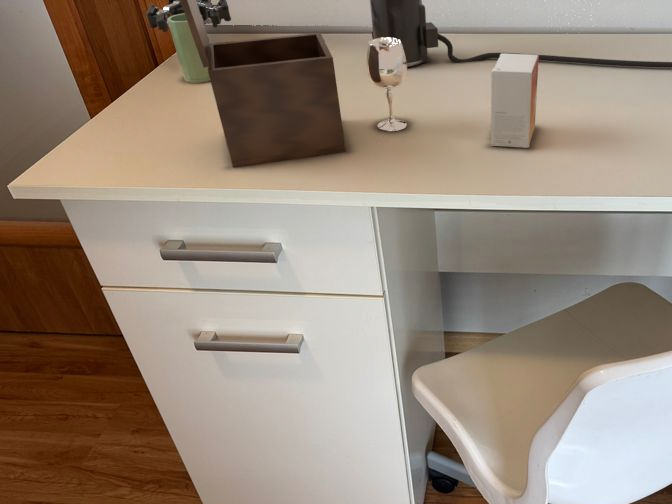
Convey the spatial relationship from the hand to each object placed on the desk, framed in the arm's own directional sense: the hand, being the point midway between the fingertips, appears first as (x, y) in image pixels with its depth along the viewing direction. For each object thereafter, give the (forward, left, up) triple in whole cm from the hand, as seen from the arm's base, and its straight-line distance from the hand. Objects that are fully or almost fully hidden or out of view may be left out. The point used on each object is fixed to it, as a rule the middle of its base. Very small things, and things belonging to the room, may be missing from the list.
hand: (188, 23), depth 118 cm
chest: (-12, +38, -8) cm, 41 cm away
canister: (0, +4, -8) cm, 9 cm away
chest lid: (-4, +38, +13) cm, 41 cm away
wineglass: (-28, +37, -8) cm, 47 cm away
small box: (-44, +47, -8) cm, 65 cm away
